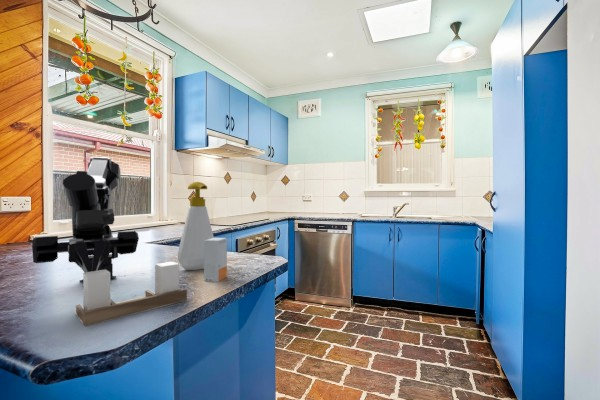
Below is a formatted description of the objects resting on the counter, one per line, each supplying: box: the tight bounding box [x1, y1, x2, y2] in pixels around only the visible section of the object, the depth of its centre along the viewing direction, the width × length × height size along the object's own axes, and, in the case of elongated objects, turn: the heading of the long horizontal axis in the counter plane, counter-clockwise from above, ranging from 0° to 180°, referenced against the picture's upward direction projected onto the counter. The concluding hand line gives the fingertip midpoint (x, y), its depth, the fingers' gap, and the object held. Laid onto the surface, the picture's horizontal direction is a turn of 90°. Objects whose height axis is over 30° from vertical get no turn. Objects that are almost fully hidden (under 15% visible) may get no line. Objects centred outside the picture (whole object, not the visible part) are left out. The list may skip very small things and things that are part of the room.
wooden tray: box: [74, 288, 188, 327], centre depth 64 cm, size 10×19×3 cm, turn 136°
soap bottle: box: [177, 181, 215, 271], centre depth 97 cm, size 13×10×29 cm
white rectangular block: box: [154, 261, 180, 295], centre depth 67 cm, size 4×4×8 cm
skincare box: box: [203, 237, 228, 283], centre depth 85 cm, size 6×4×12 cm
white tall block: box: [82, 269, 112, 311], centre depth 60 cm, size 4×4×8 cm
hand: (92, 277), depth 61 cm, fingers closed
